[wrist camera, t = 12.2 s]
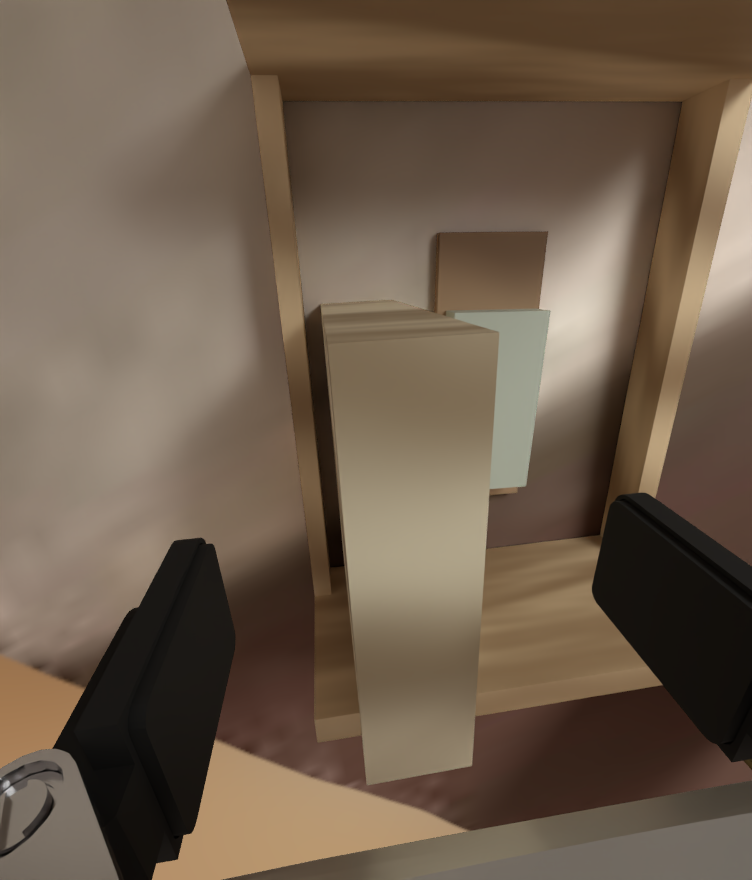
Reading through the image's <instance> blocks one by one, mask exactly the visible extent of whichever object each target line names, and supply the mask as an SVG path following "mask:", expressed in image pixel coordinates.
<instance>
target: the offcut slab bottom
mask: <svg viewBox="0 0 752 880" xmlns="http://www.w3.org/2000/svg"><path fill="white" fill-rule="evenodd" d="M547 235H548V232H452V233H438V234H437V242H436V275H435V308H434V313H437V314H441V315H444V316H446V311H451V310H496V309H539V302H540V294H541V286H542V277H543V269H544V261H545V252H546V244H547ZM507 493H517V487H510V488H498V489H489V495H496V494H507Z"/></svg>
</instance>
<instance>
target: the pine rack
mask: <svg viewBox="0 0 752 880" xmlns="http://www.w3.org/2000/svg"><path fill="white" fill-rule="evenodd" d="M226 1H227V4H228V7H229V10H230V13H231V16H232V19H233V23H234V26H235V29H236V32H237V35H238V38H239V41H240V44H241V47H242V50H243V53H244V56H245V60H246V63H247V66H248V69H249V72H250V75H251V83H252V91H253V99H254V107H255V115H256V123H257V131H258V140H259V148H260V156H261V164H262V172H263V180H264V188H265V196H266V205H267V213H268V221H269V229H270V237H271V245H272V253H273V261H274V269H275V278H276V286H277V294H278V302H279V310H280V318H281V326H282V334H283V343H284V351H285V359H286V367H287V375H288V383H289V391H290V399H291V408H292V416H293V424H294V432H295V440H296V448H297V456H298V464H299V472H300V481H301V489H302V497H303V505H304V513H305V521H306V529H307V537H308V546H309V554H310V562H311V570H312V578H313V586H314V594H315V688H314V721H315V728H316V735H317V742H318V743H319V742H325V741H330V740H336V739H342V738H348V737H354V736H360V735H362V732H361V723H360V713H359V703H358V693H357V683H356V673H355V664H354V654H353V644H352V634H351V624H350V614H349V604H348V595H347V585H346V575H345V566H341V567H333V568H330V561H329V552H328V542H327V532H326V522H325V512H324V503H323V493H322V483H321V473H320V464H319V454H318V444H317V434H316V424H315V415H314V405H313V395H312V385H311V375H310V366H309V356H308V346H307V336H306V327H305V317H304V307H303V297H302V287H301V278H300V268H299V258H298V248H297V238H296V229H295V219H294V209H293V199H292V190H291V180H290V170H289V160H288V150H287V141H286V131H285V121H284V111H283V101H671V102H682V106H681V112H680V117H679V122H678V127H677V133H676V138H675V143H674V148H673V154H672V159H671V164H670V169H669V175H668V180H667V185H666V190H665V196H664V201H663V206H662V211H661V217H660V222H659V227H658V232H657V238H656V243H655V248H654V253H653V259H652V264H651V269H650V274H649V280H648V285H647V290H646V296H645V301H644V306H643V311H642V317H641V322H640V327H639V332H638V338H637V343H636V348H635V353H634V359H633V364H632V369H631V374H630V380H629V385H628V390H627V395H626V401H625V406H624V411H623V416H622V422H621V427H620V432H619V437H618V443H617V448H616V453H615V458H614V464H613V469H612V474H611V479H610V485H609V490H608V495H607V500H606V506H605V511H604V516H603V521H602V527H601V532H600V535H596V536H588V537H580V538H571V539H563V540H555V541H547V542H538V543H530V544H522V545H514V546H506V547H497V548H489V549H486V552H485V568H484V584H483V599H482V615H481V631H480V647H479V662H478V678H477V694H476V709H475V716H480V715H486V714H492V713H498V712H504V711H510V710H516V709H522V708H528V707H534V706H540V705H546V704H552V703H558V702H564V701H570V700H576V699H582V698H588V697H594V696H600V695H606V694H612V693H618V692H624V691H630V690H636V689H642V688H648V687H654V686H660V685H663V684H662V683H661V682H660V681H659V680H658V678H657V677H656V676H655V675H654V673H653V672H652V671H651V670H650V668H649V667H648V666H647V665H646V664H645V662H644V661H643V660H642V659H641V657H640V656H639V655H638V654H637V652H636V651H635V650H634V649H633V647H632V646H631V645H630V644H629V643H628V641H627V640H626V639H625V638H624V636H623V635H622V634H621V633H620V631H619V630H618V629H617V628H616V626H615V625H614V624H613V623H612V622H611V620H610V619H609V618H608V617H607V615H606V614H605V613H604V612H603V610H602V609H601V608H600V607H599V605H598V604H597V603H596V601H595V600H594V597H593V594H592V583H593V579H594V574H595V570H596V565H597V561H598V556H599V552H600V547H601V542H602V538H603V533H604V529H605V524H606V520H607V515H608V511H609V507H610V504H611V503H612V502H614V501H615V499H616V498H617V497H618V496H619V495H622V494H632V493H641V492H642V493H647V494H649V495H651V496H652V497H654V498H655V497H656V493H657V489H658V485H659V480H660V476H661V472H662V468H663V464H664V460H665V455H666V451H667V447H668V443H669V439H670V435H671V430H672V426H673V422H674V418H675V414H676V410H677V405H678V401H679V397H680V393H681V389H682V385H683V380H684V376H685V372H686V368H687V364H688V360H689V355H690V351H691V347H692V343H693V339H694V335H695V330H696V326H697V322H698V318H699V314H700V310H701V305H702V301H703V297H704V293H705V289H706V285H707V280H708V276H709V272H710V268H711V264H712V260H713V255H714V251H715V247H716V243H717V239H718V235H719V230H720V226H721V222H722V218H723V214H724V210H725V205H726V201H727V197H728V193H729V189H730V185H731V181H732V176H733V172H734V168H735V164H736V160H737V156H738V151H739V147H740V143H741V139H742V135H743V131H744V126H745V122H746V118H747V114H748V110H749V106H750V101H751V97H752V0H226Z"/></svg>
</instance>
